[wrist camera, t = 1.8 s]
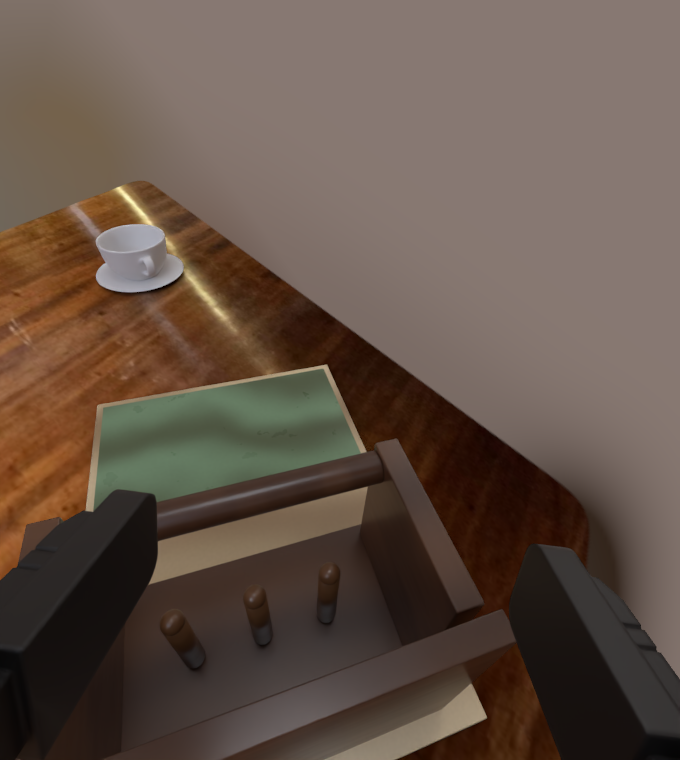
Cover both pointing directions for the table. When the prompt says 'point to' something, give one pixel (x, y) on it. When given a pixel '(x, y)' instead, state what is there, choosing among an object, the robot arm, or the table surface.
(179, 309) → the table surface
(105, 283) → the teacup
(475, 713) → the board
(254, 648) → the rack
